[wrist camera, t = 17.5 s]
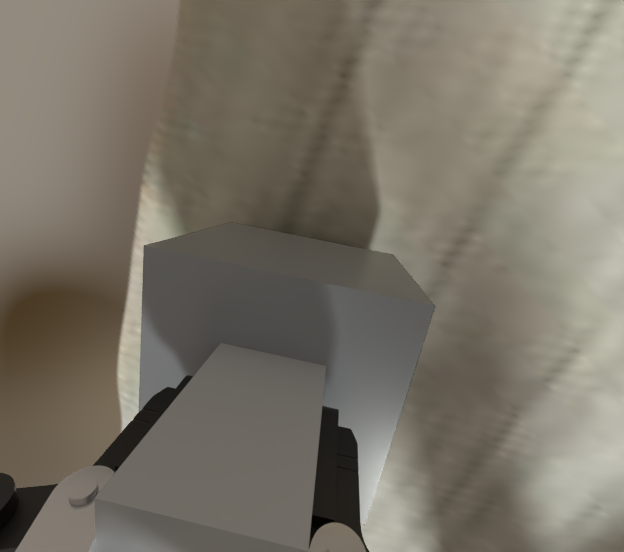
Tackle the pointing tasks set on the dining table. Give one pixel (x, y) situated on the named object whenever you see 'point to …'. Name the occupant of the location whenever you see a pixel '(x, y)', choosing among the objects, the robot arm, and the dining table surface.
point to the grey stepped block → (258, 386)
